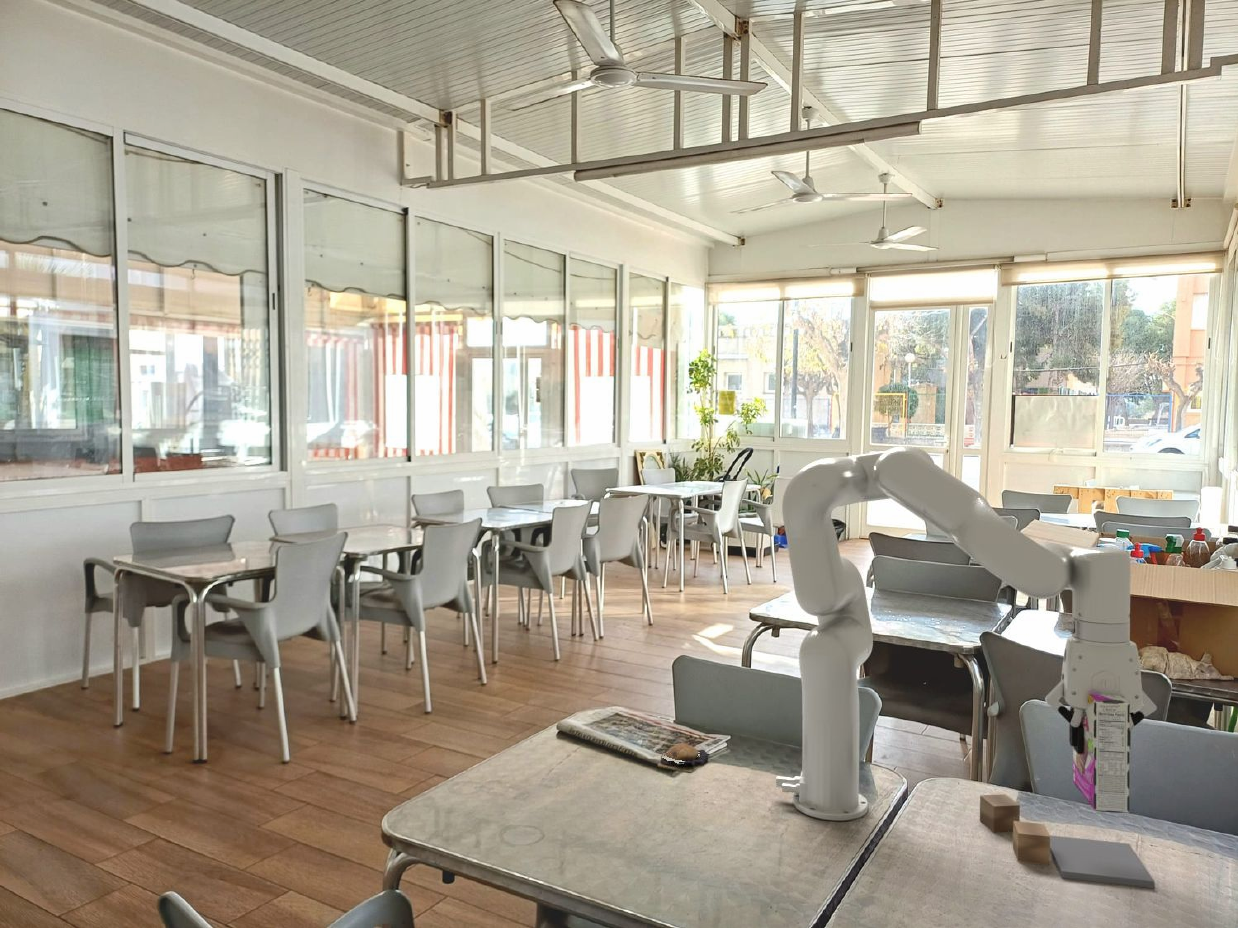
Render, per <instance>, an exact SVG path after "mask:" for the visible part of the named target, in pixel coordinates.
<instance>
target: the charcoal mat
mask: <svg viewBox="0 0 1238 928" xmlns="http://www.w3.org/2000/svg"><path fill="white" fill-rule="evenodd" d="M1049 835H1050V857H1051V859H1052V860H1053V863H1054V864H1055V865H1054V866H1055V867H1056V869H1057V871H1058V873H1059V875H1060V878H1061V879H1069V880H1077V881H1078V880H1079V881H1085V882H1086V881H1087V882H1096V883H1104V884H1112V885H1121V886H1128V887H1139V888H1146V889H1147V888H1148V889H1155V880H1154V879H1153V877H1152V875H1151V874H1150V873H1149V872H1148V871H1149V870H1148V869H1147V868H1146V867H1145V865H1144V864H1143V861H1141V859H1140V857H1138V855H1137V853H1136V852H1135V850H1134V849H1133V847H1132V846H1131V844H1130V843H1126V842H1125V843H1124V842H1117V841H1107V840H1098V839H1089V838H1088V839H1087V838H1079V837H1078V838H1077V837H1068V836H1059V835H1051V834H1049Z"/></svg>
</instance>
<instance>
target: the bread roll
mask: <svg viewBox="0 0 1238 928" xmlns="http://www.w3.org/2000/svg"><path fill="white" fill-rule="evenodd" d="M698 752H700V753H698ZM698 754H700V757H699V756H698ZM663 755H664V756H665V755H666V756H667V757H669V758H672V759H675V760H682V761H686V762H685V763H684V764H677V763H675V762H674V761H667V760H666V759H664V758H662V756H663ZM663 755H661V757H660V762H659V763H657V767H658V768H661V769H662V768H663V769H667V770H668V769H669V770H673V771H677V772H682V773H688V774H691V773H693V772H695V771H696V770H698V769H699V768H701V767H702V766H704V765H705V763H707V762H709V761H708V760H709V756H710V753H707V752H706V750H704V749H697V748H695V747H694V746H692V745H689V744H686V743H678V744H676V745H675V744H674V745H673V746H672V747H670V749H669V750H668V752H667V753H666V754H663ZM697 756H698V757H697ZM679 763H683V762H679Z"/></svg>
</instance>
